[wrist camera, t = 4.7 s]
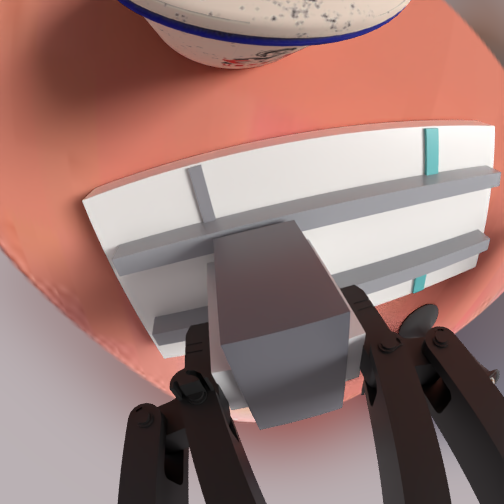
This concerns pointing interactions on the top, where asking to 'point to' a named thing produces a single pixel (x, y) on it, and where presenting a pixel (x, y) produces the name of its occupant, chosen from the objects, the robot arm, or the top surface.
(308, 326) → the fader tab
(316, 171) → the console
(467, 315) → the top surface
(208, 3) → the teacup with lid
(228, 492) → the robot arm
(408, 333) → the sundae
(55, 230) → the top surface
